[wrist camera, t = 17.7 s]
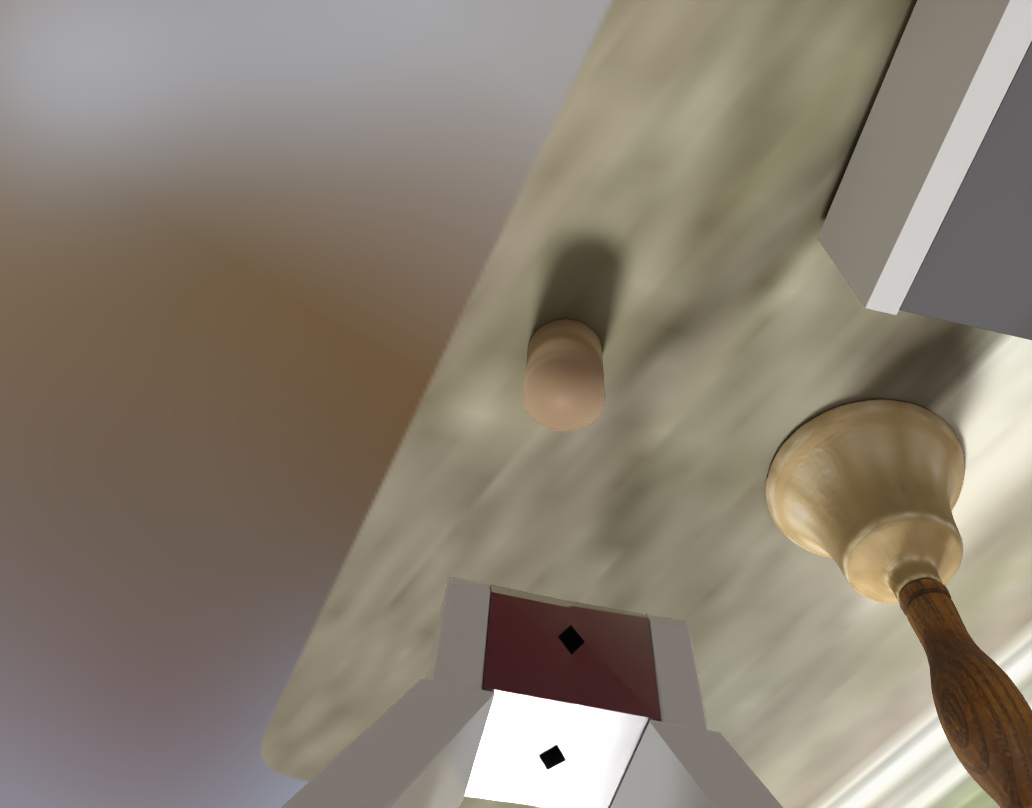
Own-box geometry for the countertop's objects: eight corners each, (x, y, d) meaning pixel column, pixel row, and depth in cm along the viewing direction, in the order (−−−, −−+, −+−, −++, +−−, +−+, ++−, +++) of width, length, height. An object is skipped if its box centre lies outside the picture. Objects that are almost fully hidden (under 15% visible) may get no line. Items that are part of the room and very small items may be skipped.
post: (520, 376, 36) (516, 422, 33) (536, 312, 34) (534, 353, 31) (591, 391, 36) (593, 438, 33) (610, 328, 35) (614, 371, 32)
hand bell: (957, 376, 35) (1206, 695, 21) (969, 532, 39) (1185, 886, 25) (749, 424, 37) (856, 749, 23) (781, 569, 41) (889, 920, 27)
